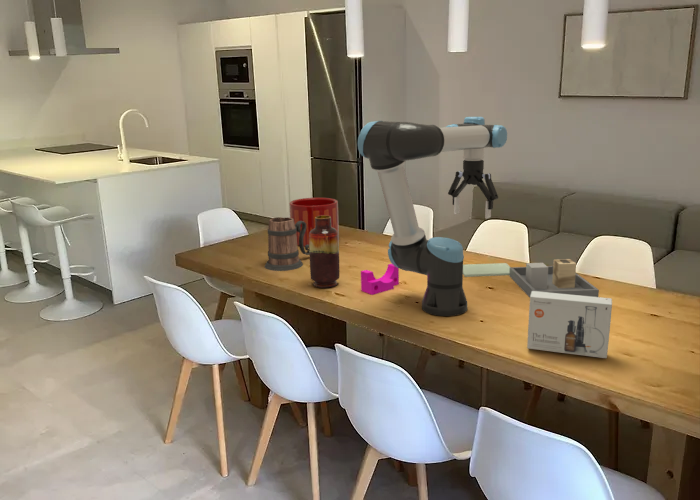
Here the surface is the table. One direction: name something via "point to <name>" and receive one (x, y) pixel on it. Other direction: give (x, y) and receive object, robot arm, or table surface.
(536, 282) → the grey box
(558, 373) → the table surface
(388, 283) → the toy block
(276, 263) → the tankard
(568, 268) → the maple box
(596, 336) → the skincare box
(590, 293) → the parts bin
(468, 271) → the mat
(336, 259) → the vase
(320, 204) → the planter
